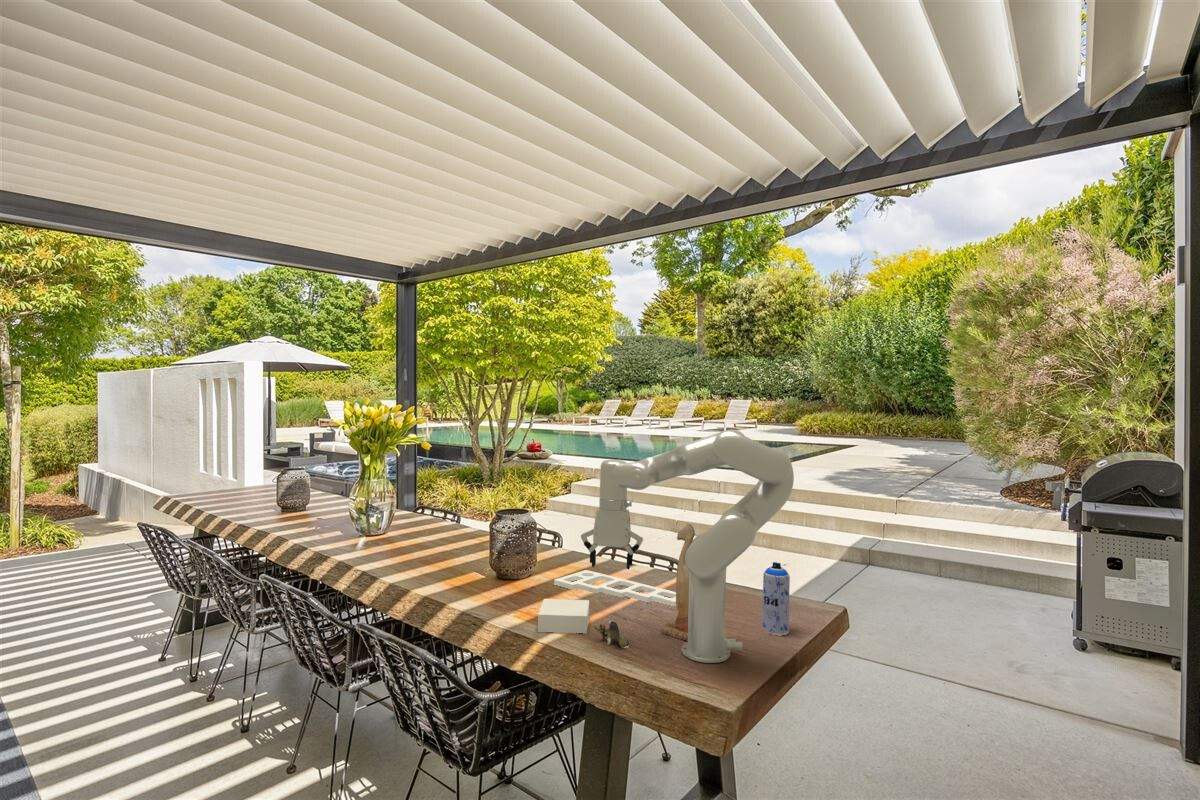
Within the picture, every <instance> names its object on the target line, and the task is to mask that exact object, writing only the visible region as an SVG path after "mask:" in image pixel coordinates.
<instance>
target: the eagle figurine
mask: <svg viewBox="0 0 1200 800" xmlns="http://www.w3.org/2000/svg"><path fill="white" fill-rule="evenodd" d="M608 624H609V627H608V628H607V627H606V625H605V624H600V625H599V626H598V627H599V628H598V627H597V626H596V625H594V626H593V628H594V629H595V630H596V631H597V632H599V633H600V634H601V637H602V639H603V640H605V639H606V638H607V644H606V646H607V645H608V646H609V645H611V642H612V640H613V639H614V640H616V641H617V642H618V644H619V646H620V648H621V649H624V648H623V647H625V646H628V645H629V644H630V642H629V640H628V639H627V638H626V637H625V636H624V635H622V634H621V633H620V629H619V626H618V623H617V622H616V621H611V620H608Z"/></svg>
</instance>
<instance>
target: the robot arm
mask: <svg viewBox="0 0 1200 800" xmlns="http://www.w3.org/2000/svg"><path fill="white" fill-rule="evenodd" d="M725 465H726V466H729V467H731V468H732V469H734V470H737V471H739V472H740V473H744V474H746V475H747V476H750V477H752V478H754V479H756V480H758V481H757V483H756V484H755V486H754V487H752V488H751V489H750V490H749V491H748V492H747V494H746V495H744V496H743V497H742V498H741V499H740V500H739V501H737V502H736V503H735V504H734V505H733V506H732V507H730V508H729V509H728V510H726V511H725V512H724V513H723V514H722V515H721V516H720V518H719V520H718V521H717V522H715V523H714V524H713V525H712V526H711V527H710V528H709V529H707V531H706V532H702V533H700V534H698V535H696V536H695V537H694V538H693V541H692V543H691V544H690V546H689V548H688V550H687V552H686V556H685V562H686V566H687V568H688V570H689V572H690V576H689V609H688V642H686V641H685V643H683V644H682V646H681V653H682V654H683V656H685V657H686V658H688V659H689V660H692V661H695V662H699V663H704V664H717V663H722V662H725V661H727V660H728V659H729V658H730V657H731V650H736V651H737V650H739V651H740V650H743V642H742V641H736V640H737V639H736V638H727V637H726V635H725V630H726V629H725V628H726V627H725V626H726V625H725V623H726V621H725V620H726V588H727V587H726V585H727V583H726V582H727V579H726V578H727V567H729V566H730V565H731V564H732V563H733V562H734V561H736V559H738V558H739V557H740V556H741V555H743V554H744V552H746V551H747V550H748V549H749V547H750V546H751V545H752V544H753V543H754V540H755V538H756V534H757V533H758V531H759V530H760V529H761V528H762V527H763V526H765V525H766V524H767V522H769V521H770V520H771V519H772V518H773V517H774V516H775V515H776V514H777V513H778V512H779V511H780V510H781V509H782V508H783V506H785V504H786V503H787V501H788V499H789V498H790V496H791V493H792V492H793V488H794V487H793V486H794V480H795V479H794V478H795V476H794V469H793V464H792V461H791V458H790V456H789V454H788V453H787V452H786V451H785V450H784V449H781V448H779V447H770V446H768V445H765V444H763V443H761V442H760V441H756V440H754V439H751V437H750V438H749V437H747V436H746V435H744V433H742V432H741V431H740V430H737V429H727V430H724V431H720V432H717V433H714V434H711V435H708V436H705V437H702V438H699V439H696V440H693V441H690V442H686V443H684V444H681V445H679V446H678V447H677V446H676V447H675V448H673V449H670V450H668V451H665V452H662V453H659V454H656V455H653V456H650V457H647V458H644V459H641V460H638V461H633V462H625V461H624V460H619V459H606V460H603V461H601V464H600V473H599V476H600V477H599V478H600V479H599V503H598V505H599V507H598V508H597V509H596V513H595V516H594V517H595V518H594V524H593V525H594V526H593V528H592V529H590V530H589V531H586V532H584V533H582V534H581V535H580V539H581V541H582V543H583V546H585V548H586V549H587V550H588V552H589V563H590V564H591V567H592V568H594V567H595V566H596V564H597V560H596V559H597V550H596V548H597V547H607V548H608V547H611V548H624V549H625V550H626V552H627V554H626V569H627V570H630V568H631V566H633V554H635V552H636V551H637V550H639V549H640V547H641V545H642V543H643V541H644V538H643V536H641V535H639V534H637V533H636V532H634V531H631V528H632V525H631V514H630V510H629V509H627V508H629V507H633V506H632V505H633V502H632V501H629V500H628V489H630V490H636V491H642V490H645V489H648V488H649V487H650V486H652V485H654V484H658V483H660V482H663V481H666V480H669V479H673V478H676V477H681V476H694V475H697V474H700V473H704V472H706V471H709V470H713V469H717V468H719V467H723V466H725ZM591 536H592V538H593V541H592V542H593V543H591V542H590V541H589V540H588V537H589V538H590V537H591ZM631 538H632V539H633V540H635V541H636V543H635V544H634V545H633V546H632V545H631V544H630V542H631Z"/></svg>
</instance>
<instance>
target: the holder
mask: <svg viewBox="0 0 1200 800" xmlns="http://www.w3.org/2000/svg"><path fill="white" fill-rule="evenodd" d="M574 580H577V581H574ZM599 580H605V581H609V582H606V583H604V582H602V583H600V584H598V585H594V584H592V585H590V583H593V582H595V581H599ZM553 581H554V582H553V585H558V586H561V587H565V588H568V589H572V590H573V589H576V588H577V589H581V590H586V591H589V592H593V593H599V592H603V593H606V594H610V595H614V596H618V597H624V596H628V597H631V598H634V599H638V600H641V601H645V602H650V601H655V602H659V603H663V604H667V605H671V606H677V605H676V591H674V590H669V589H665V588H661V587H656V586H652V585H649V584H644V583H641V582H637V581H632V580H630V579H629V580H628V579H625V578H620V577H617V576H612V575H608V574H604V573H601V572H597V571H596V572H595V571H592V570H588V569H585V570H581V571H577V572H575V573H572V574H568V575H565V576H561V577H558V578H555V579H554V580H553ZM571 581H574V582H571ZM617 585H626V586H629V587H628V588H623V589H618V588H615V589H614V588H612V587H615V586H617ZM639 590H644V591H647V592H651V593H648V594H647V593H643V592H640V593H639V592H636V591H639ZM664 596H668V597H671V598H668V597H664Z"/></svg>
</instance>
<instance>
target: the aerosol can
mask: <svg viewBox="0 0 1200 800" xmlns="http://www.w3.org/2000/svg"><path fill="white" fill-rule="evenodd" d="M781 564H782V563H781V562H774V561H773V562H772V566H769V567H768V568H766V569H765V570H764V571H763V578H762V579H763V581H762V618H761V619H762V621H761V622H762V624H761V629H762V628H763V629H764V630H766V631H768V632H771V633H780V634H783V633H787V632H788V631H789V632H790V630H789V629H790V628H789V625H790V624H789V623H790V584H791V583H790V582H791V581H790V579H791V578H790V573H789V572H788V571H787V570H786V569H785V568H784V567H782V565H781Z"/></svg>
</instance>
